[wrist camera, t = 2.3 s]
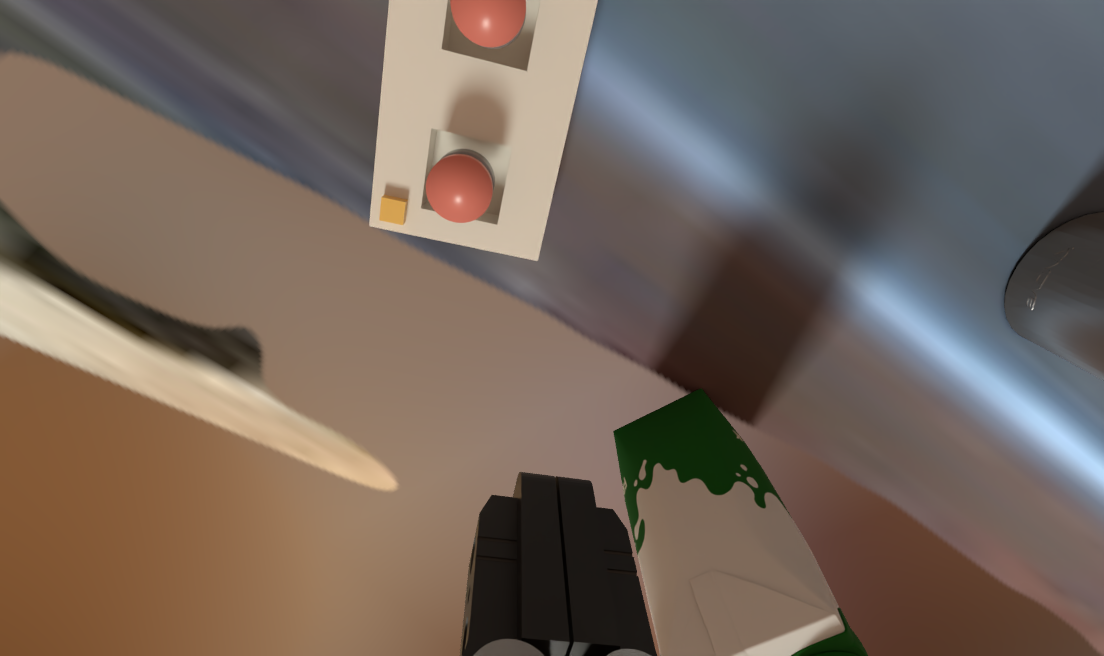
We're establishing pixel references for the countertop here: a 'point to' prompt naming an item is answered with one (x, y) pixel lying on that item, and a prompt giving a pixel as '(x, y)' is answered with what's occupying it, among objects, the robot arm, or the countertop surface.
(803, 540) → the milk carton
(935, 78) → the countertop surface
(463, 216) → the button
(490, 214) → the button panel
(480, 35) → the button
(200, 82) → the countertop surface
